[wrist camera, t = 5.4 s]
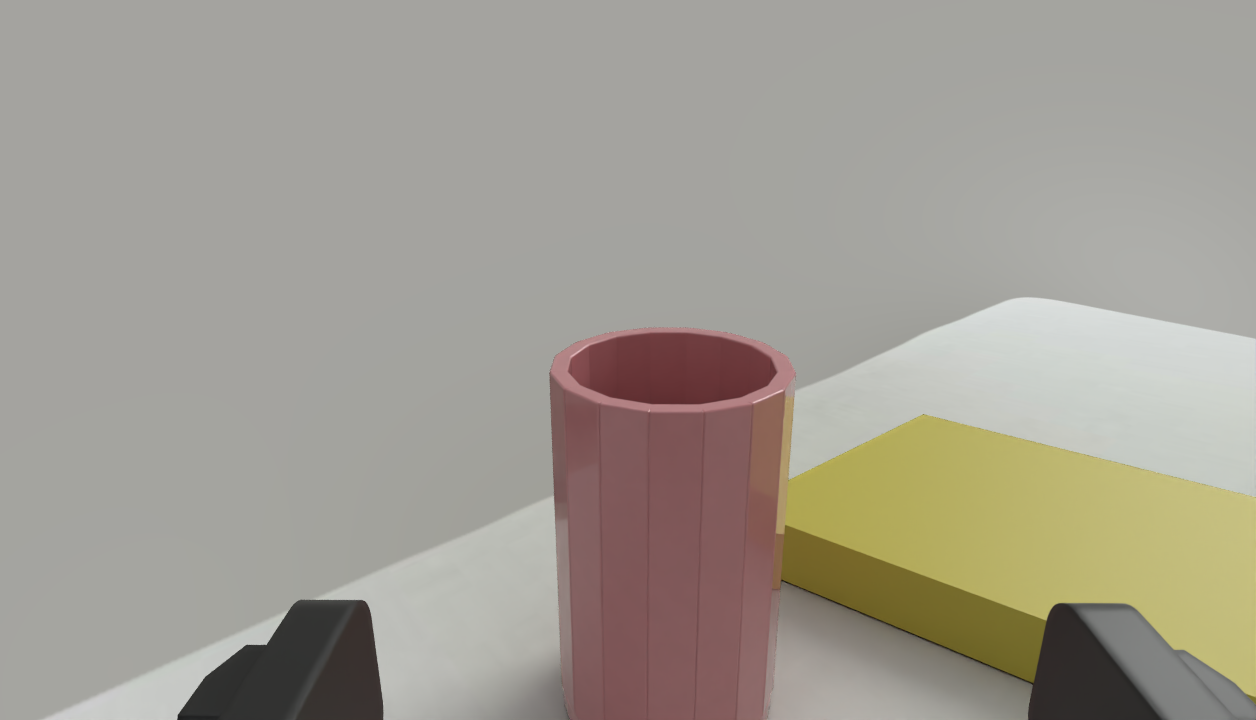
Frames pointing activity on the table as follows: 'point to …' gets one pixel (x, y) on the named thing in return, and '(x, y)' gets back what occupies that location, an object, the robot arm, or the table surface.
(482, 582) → the table surface
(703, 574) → the cup
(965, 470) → the flat olive board
